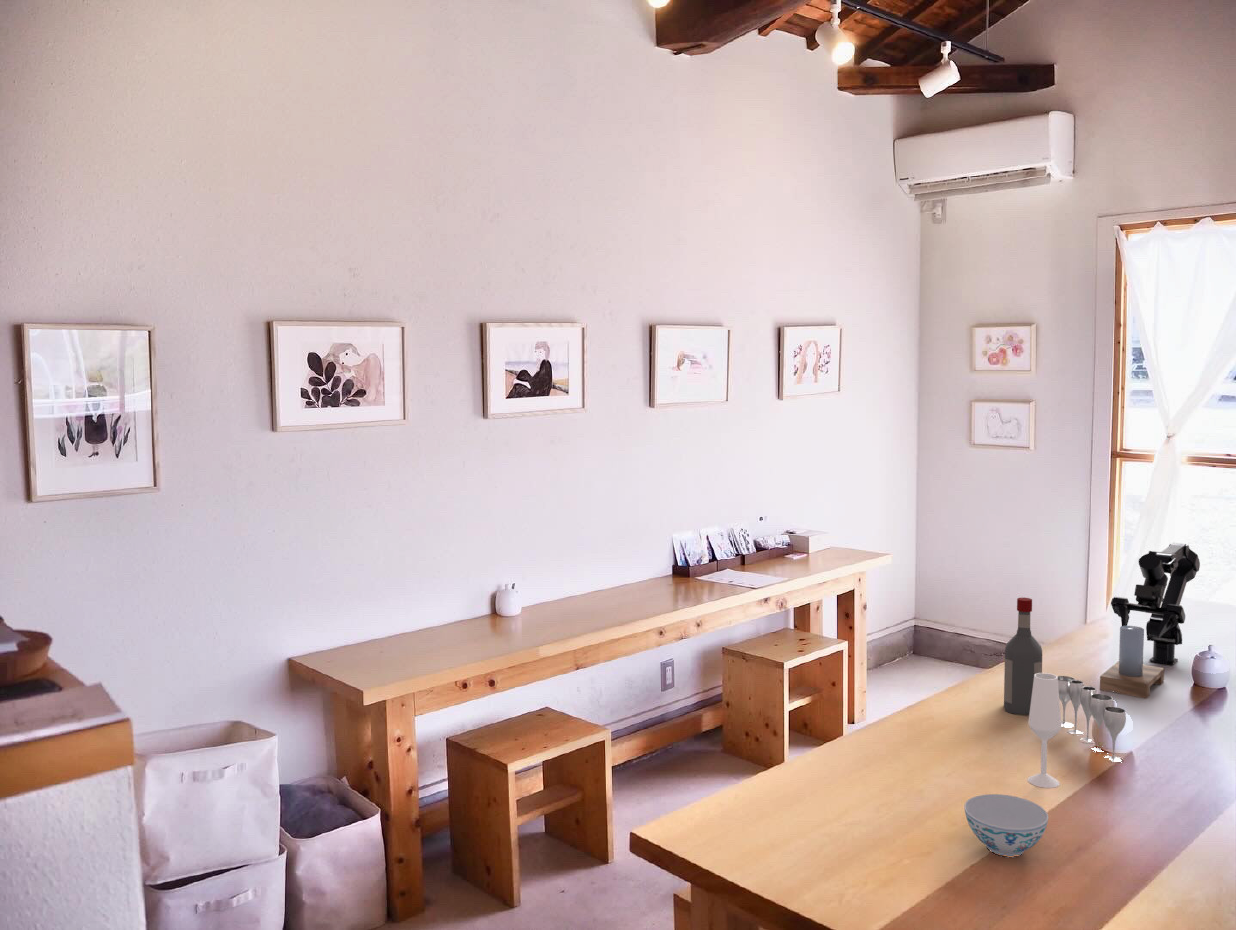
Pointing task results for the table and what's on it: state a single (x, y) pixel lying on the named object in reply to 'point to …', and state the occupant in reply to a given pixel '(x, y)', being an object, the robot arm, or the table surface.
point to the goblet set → (1091, 709)
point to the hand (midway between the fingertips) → (1140, 634)
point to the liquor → (1021, 663)
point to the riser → (1131, 681)
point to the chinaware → (1006, 822)
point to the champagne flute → (1044, 721)
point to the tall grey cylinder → (1131, 651)
